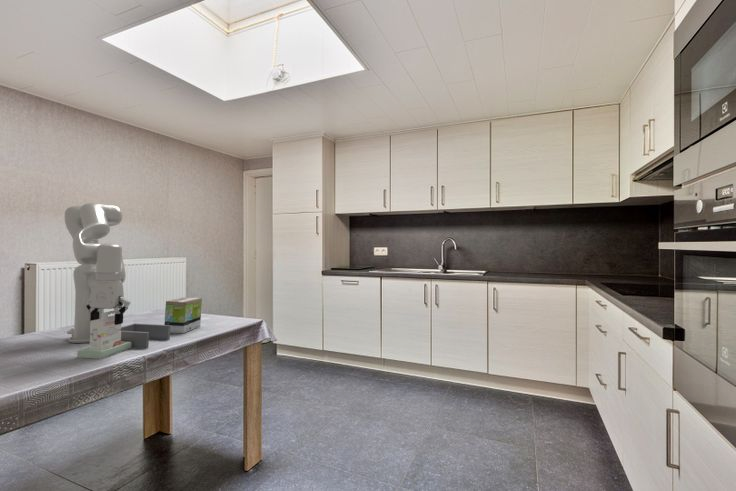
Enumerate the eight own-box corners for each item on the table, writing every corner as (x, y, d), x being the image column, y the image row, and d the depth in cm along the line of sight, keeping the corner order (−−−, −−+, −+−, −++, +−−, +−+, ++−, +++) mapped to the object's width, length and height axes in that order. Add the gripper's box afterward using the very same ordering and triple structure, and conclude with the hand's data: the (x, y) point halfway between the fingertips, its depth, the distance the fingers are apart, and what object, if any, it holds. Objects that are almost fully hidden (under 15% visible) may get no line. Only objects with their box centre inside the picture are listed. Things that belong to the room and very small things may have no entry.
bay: (107, 346, 135) (107, 330, 135) (134, 337, 149) (134, 323, 149) (146, 348, 134) (146, 332, 134) (169, 339, 147) (170, 325, 148)
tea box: (184, 333, 157) (186, 301, 157) (163, 333, 157) (164, 301, 158) (201, 326, 172) (202, 297, 173) (181, 325, 172) (182, 296, 173)
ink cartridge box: (109, 346, 132) (111, 308, 132) (121, 347, 131) (122, 309, 131) (88, 353, 123) (90, 312, 123) (100, 354, 122) (101, 313, 123)
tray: (77, 357, 121) (77, 350, 121) (108, 346, 134) (108, 340, 134) (102, 358, 120) (102, 351, 120) (131, 348, 133) (131, 341, 133)
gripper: (77, 277, 124) (75, 324, 124) (122, 279, 123) (120, 326, 123) (95, 275, 132) (94, 320, 132) (137, 277, 130) (136, 322, 130)
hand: (106, 323), depth 127 cm, fingers open, 9 cm apart
